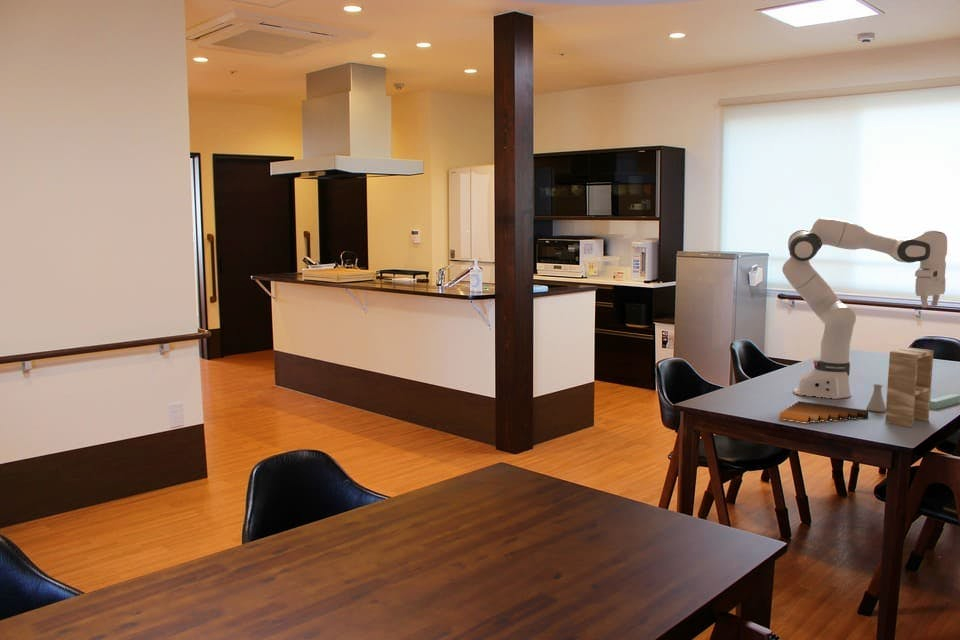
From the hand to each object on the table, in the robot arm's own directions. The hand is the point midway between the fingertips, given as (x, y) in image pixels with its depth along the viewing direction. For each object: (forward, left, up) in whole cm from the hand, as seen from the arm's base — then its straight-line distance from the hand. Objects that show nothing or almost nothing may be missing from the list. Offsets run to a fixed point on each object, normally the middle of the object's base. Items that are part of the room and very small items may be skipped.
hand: (929, 306), depth 314 cm
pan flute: (-39, -42, -40) cm, 69 cm away
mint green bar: (+7, -3, -39) cm, 40 cm away
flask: (-19, -21, -39) cm, 48 cm away
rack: (-11, -36, -39) cm, 54 cm away
